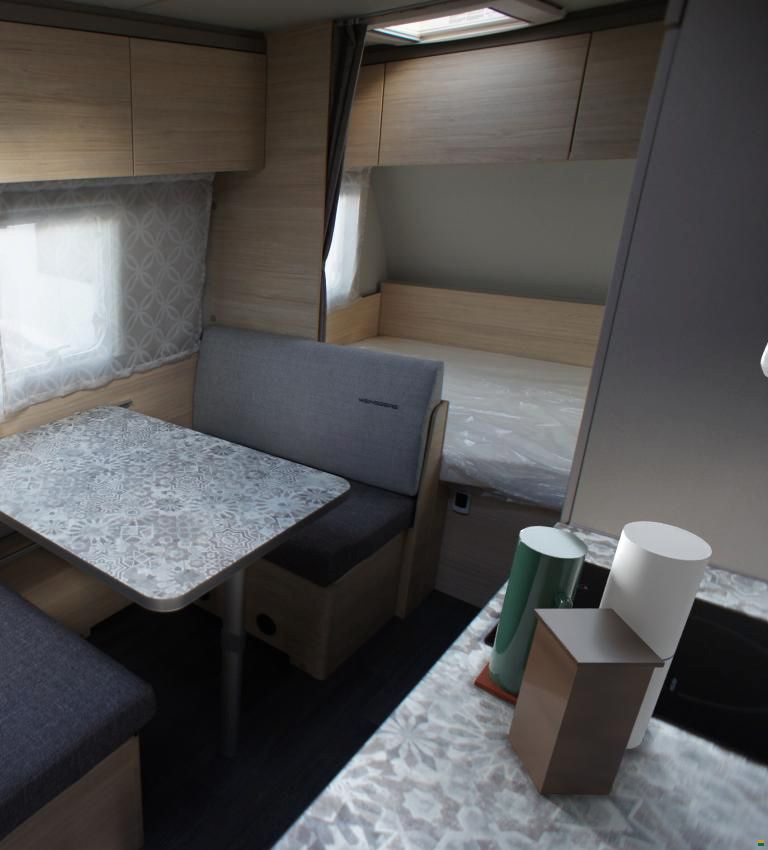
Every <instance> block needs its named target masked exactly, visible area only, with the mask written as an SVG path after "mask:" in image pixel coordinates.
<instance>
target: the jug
mask: <svg viewBox="0 0 768 850" xmlns="http://www.w3.org/2000/svg"><path fill="white" fill-rule="evenodd" d="M517 537H518V538H517V542H516V546H515V551H514V555H513V560H512V563H511V568H510V573H509V577H508V581H507V585H506V589H505V594H504V597H503V598H504V599H503V603H502V607H501V612H500V615H499V620H498V623H497V628H496V633H495V638H494V641H493V645H492V650H491V655H490V659H489V661H490V663H489V667H488V674H489V676H490V678H491V680H492V681H493V682H494V683H495V684H496V685H497V686H498V687H499V688H501V689H502V690H504V691H505V692H507V693H509V694H511V695H514V696H517V697H518V696H519V692H520V688H521V685H522V681H523V677H524V673H525V669H526V665H527V662H528V658H529V654H530V650H531V646H532V642H533V638H534V635H535V631H536V627H537V623H538V618H537V617H536V616H535V615H534V609H573V607H574V600H575V597H576V593H577V590H578V586H579V583H580V579H581V576H582V573H583V569H584V565H585V562H586V558H587V554H588V546H587V545H586V543H585V542H584V541H583V540H582V539H580V538H579V537H578V536H576V535H574V534H572V533H570V532H568V531H565V530H563V529H559V528H555V527H551V526H550V527H549V526H543V525H535V526H533V525H531V526H527V527H524V528H522V530H520V531H519V534H518V536H517Z"/></svg>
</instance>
